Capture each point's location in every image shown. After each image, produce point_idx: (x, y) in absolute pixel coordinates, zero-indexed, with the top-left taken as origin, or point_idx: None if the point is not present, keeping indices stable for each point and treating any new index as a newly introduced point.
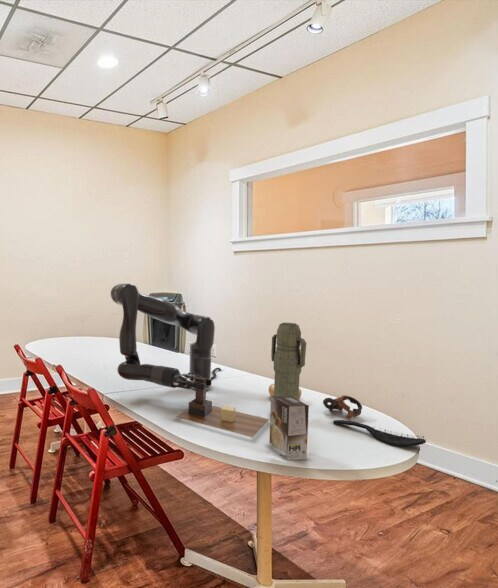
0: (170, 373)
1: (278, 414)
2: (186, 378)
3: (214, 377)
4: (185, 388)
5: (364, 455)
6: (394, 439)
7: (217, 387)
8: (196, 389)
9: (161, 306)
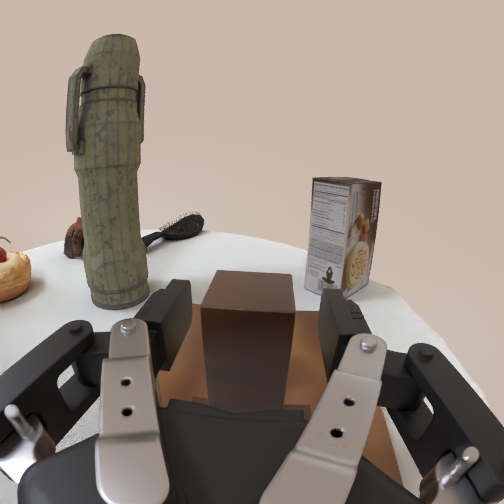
0: None
1: (367, 213)
2: (375, 389)
3: None
4: (425, 417)
5: (255, 246)
6: (183, 230)
7: None
8: (283, 400)
9: None
